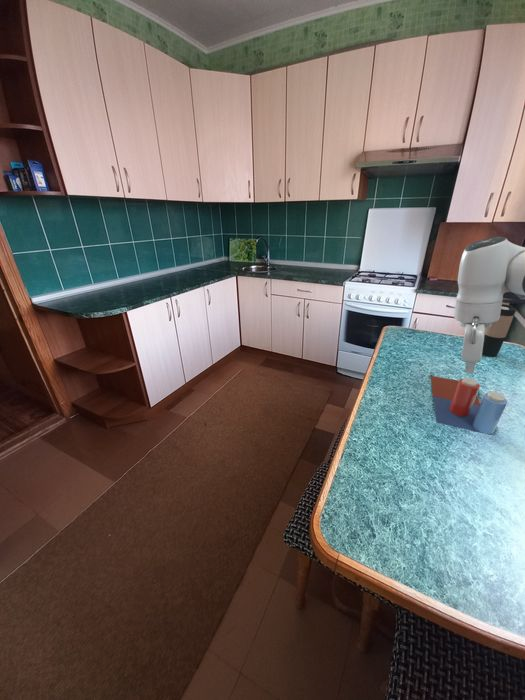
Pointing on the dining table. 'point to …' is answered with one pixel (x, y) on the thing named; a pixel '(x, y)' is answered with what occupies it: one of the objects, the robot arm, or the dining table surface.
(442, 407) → the sorting mat
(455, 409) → the cylinder
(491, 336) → the travel mug
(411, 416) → the dining table surface
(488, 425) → the blue shaker
